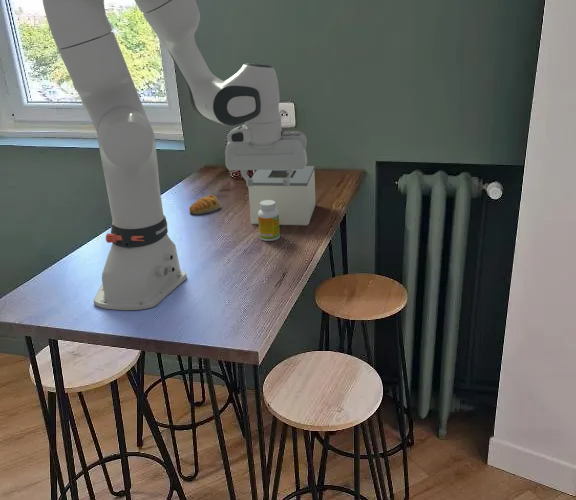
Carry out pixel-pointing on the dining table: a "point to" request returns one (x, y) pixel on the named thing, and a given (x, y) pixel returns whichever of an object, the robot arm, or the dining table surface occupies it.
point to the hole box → (284, 194)
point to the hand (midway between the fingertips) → (268, 185)
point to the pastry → (205, 205)
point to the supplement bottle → (268, 221)
